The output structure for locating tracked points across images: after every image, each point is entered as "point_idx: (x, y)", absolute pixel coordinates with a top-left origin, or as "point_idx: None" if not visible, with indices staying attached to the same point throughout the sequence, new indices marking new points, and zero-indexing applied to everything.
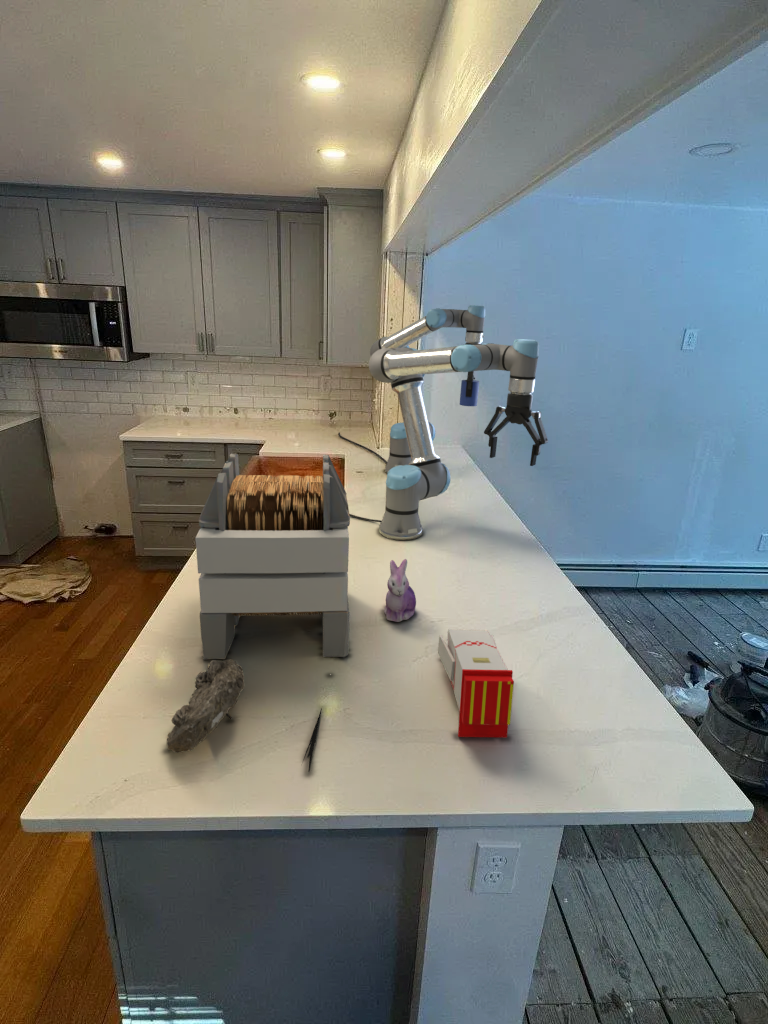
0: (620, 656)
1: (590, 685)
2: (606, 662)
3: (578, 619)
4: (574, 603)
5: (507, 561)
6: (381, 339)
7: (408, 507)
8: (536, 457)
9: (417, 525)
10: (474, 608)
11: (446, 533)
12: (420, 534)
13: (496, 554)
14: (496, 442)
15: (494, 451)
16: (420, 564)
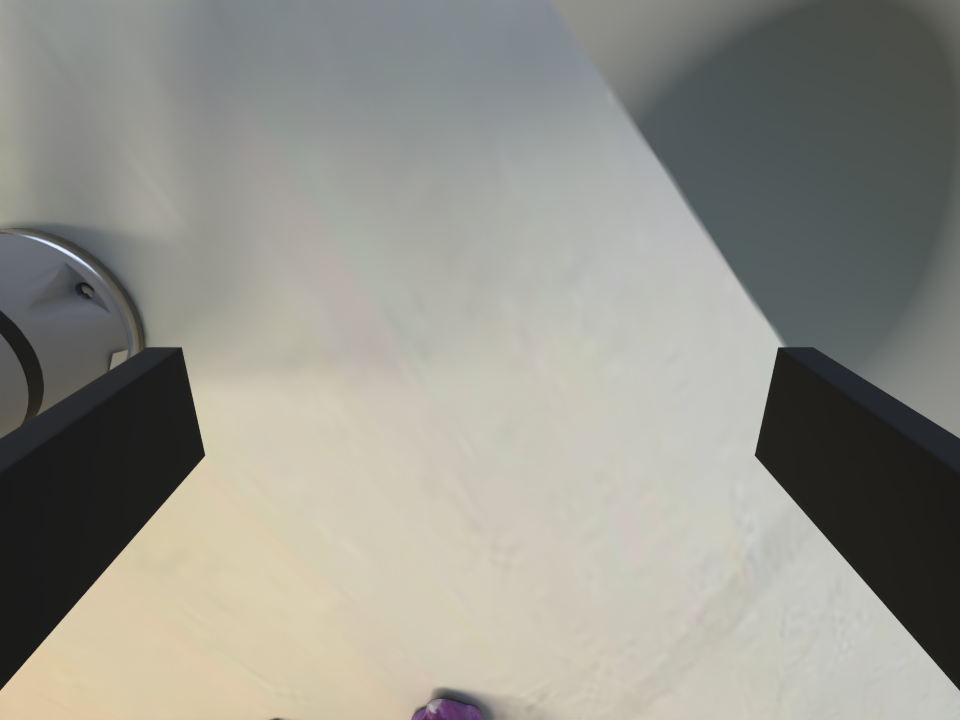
0: None
1: (888, 712)
2: None
3: None
4: None
5: (542, 294)
6: None
7: (8, 428)
8: (884, 394)
9: (97, 342)
10: (585, 619)
11: (182, 191)
12: (131, 310)
13: (477, 259)
14: (11, 488)
15: (143, 437)
16: (317, 507)
